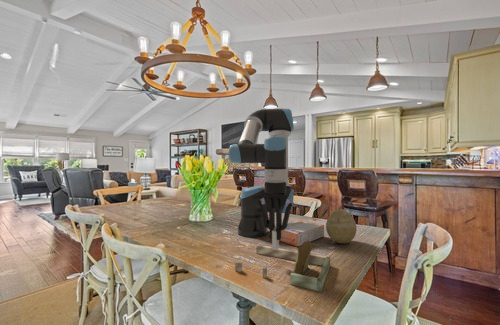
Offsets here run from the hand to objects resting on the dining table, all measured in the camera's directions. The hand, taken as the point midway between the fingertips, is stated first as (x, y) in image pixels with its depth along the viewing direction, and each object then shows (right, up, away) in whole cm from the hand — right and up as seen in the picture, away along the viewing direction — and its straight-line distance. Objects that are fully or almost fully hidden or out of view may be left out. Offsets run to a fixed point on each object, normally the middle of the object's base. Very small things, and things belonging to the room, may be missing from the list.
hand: (275, 248), depth 83 cm
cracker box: (+23, -3, +36) cm, 43 cm away
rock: (+7, -7, -4) cm, 11 cm away
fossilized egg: (+32, -6, +23) cm, 40 cm away
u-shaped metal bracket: (+3, -6, -2) cm, 7 cm away
